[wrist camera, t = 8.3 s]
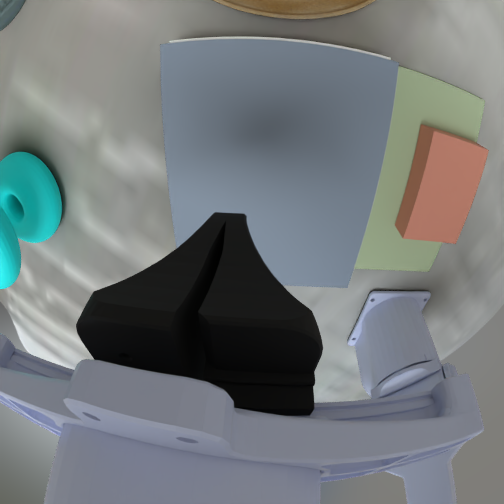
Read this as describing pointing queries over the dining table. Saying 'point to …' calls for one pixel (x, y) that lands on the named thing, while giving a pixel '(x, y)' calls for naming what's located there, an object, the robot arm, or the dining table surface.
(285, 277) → the book deck
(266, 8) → the plant saucer
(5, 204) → the donuts
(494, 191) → the dining table surface
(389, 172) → the felt mat
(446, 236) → the card box
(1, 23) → the grey plant pot
